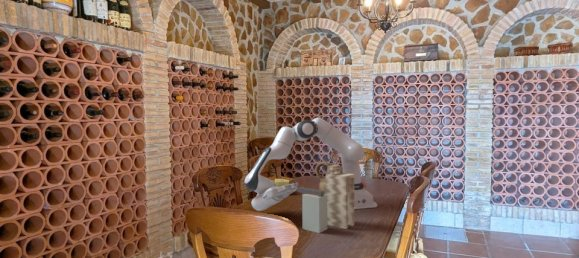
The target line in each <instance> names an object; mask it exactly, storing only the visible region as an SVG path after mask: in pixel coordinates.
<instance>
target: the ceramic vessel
mask: <svg viewBox="0 0 579 258" xmlns="http://www.w3.org/2000/svg"><path fill="white" fill-rule="evenodd" d="M332 165H338V164H337V163H333V162H332V163H330V162H327V161H321V162H319V163H317V164H316V165H315V169H314V172H315V174H316V175H315V176H316V177H317V179H318V180H319V183H318V190H322V191H324V195H326V177H323V176H322V175H321V173H320V168H321V167H323V166H324V167H326V168H327V167H328V166H332Z"/></svg>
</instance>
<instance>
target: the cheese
mask: <svg viewBox="0 0 579 258" xmlns="http://www.w3.org/2000/svg"><path fill="white" fill-rule="evenodd" d="M274 182H275V185H276V187H281V186H284V185H289V184H290V180H289V179H285V178H284V179H283V178H275V179H274Z"/></svg>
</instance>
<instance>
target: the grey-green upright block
mask: <svg viewBox="0 0 579 258" xmlns="http://www.w3.org/2000/svg"><path fill="white" fill-rule="evenodd" d="M301 195H302V197H301V198H302V199H301V200H302V206H301V208H302V209H301V210H302V212H301V213H302V215H301V216H302V217H301V218H302V224H301V225H302V226H301V227H302V230H305V231H310V232H313V233H318V234H320V233H321V234H322V233H323V232H325V231H326V230H328V225H327V195H323V196H317V195H311V194H306V193H302V194H301Z"/></svg>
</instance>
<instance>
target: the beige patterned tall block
mask: <svg viewBox="0 0 579 258" xmlns="http://www.w3.org/2000/svg"><path fill="white" fill-rule="evenodd" d="M341 171H342V164H341V165H340V164H337V165H332V166H328V167H326V173H325V178H326V195H327V226H332V227H335V228H340V229H345V230H348V227H349V226H351V227H352V226H355V209H354V174H349V173H342V172H341Z"/></svg>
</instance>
